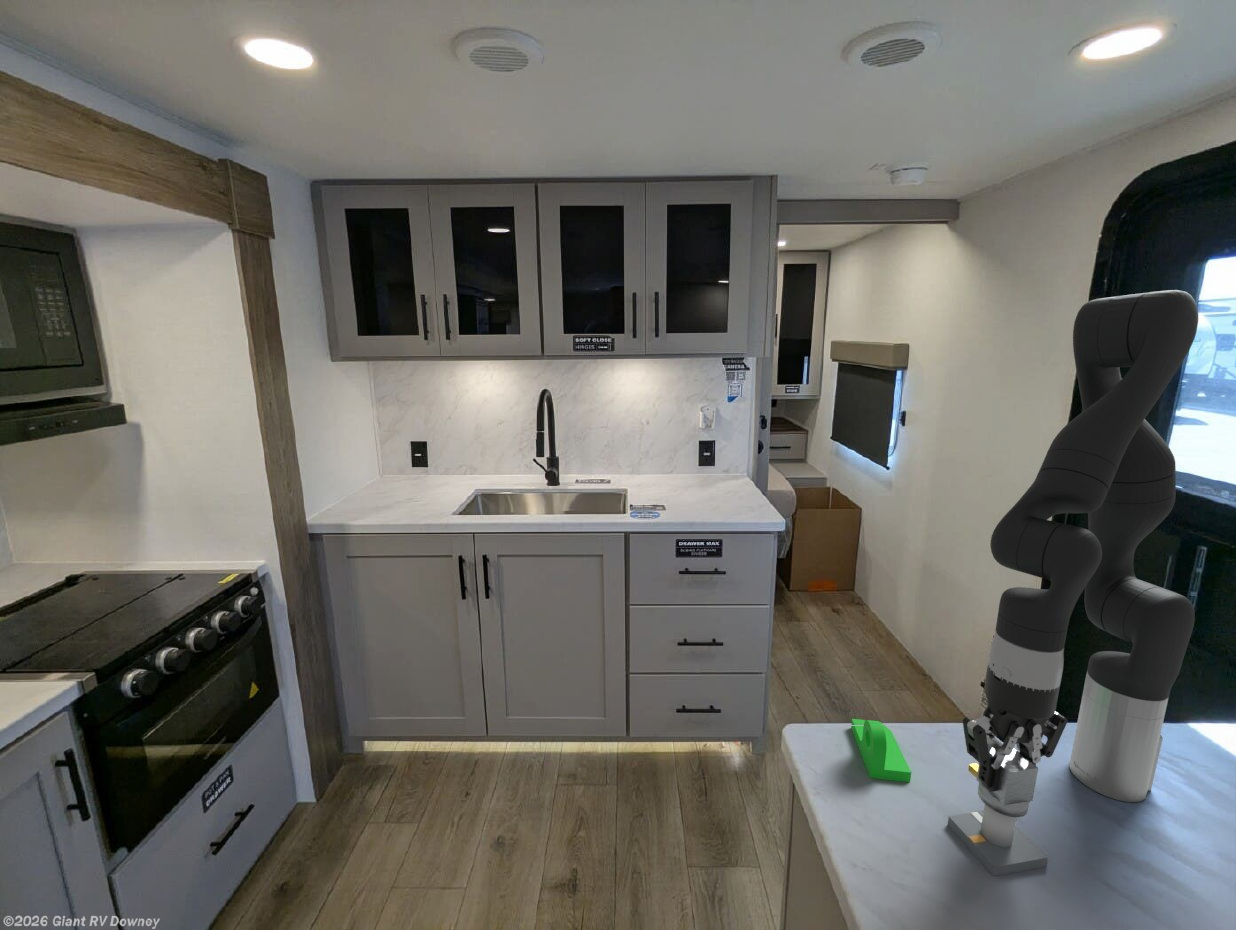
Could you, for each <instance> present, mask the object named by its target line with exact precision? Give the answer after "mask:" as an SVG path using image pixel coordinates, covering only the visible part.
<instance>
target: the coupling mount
mask: <svg viewBox="0 0 1236 930" xmlns="http://www.w3.org/2000/svg"><path fill="white" fill-rule="evenodd" d="M1017 818H1018V817H1009V816H1005V815H1003V814H1000V813H998V812H996V811H994V810H992V809H991V808H989V807H988V806H987V805H986V804H985V803H984V807H983V810H979V811H973V812H972V811H971V812H966V813H960V814H955V815H949V816H948V819H947V826H948V827H949V828H950V829H951V831H952V832H953V833H954V834H955V835H956V836H957V837H958V838H959V839H960V840H961V842H962V843H963V844H964V845H965V846H966V847H967V848H968V849H969V851H971V853H972V854H973V855H974V856H975V857H976V858H977V859H978V861H979V862H980V863H981V864H982V865H983V866H984V867H985V869H987V870H988V872H989V873H990V874H991V875H992V876H993V877H996V876H1001V875H1007V874H1012V873H1017V872H1024V871H1027V870H1033V869H1039V868H1043V867H1047V864H1048V861H1049V860H1048V859H1049V856H1047V855H1046V854H1045V853H1044V852H1043V851H1042V850H1041V848H1039V847H1038V846H1037V845H1036V844H1035V843H1034V842H1033V841H1032V840H1031V839H1030V838H1029V837H1027V835H1026V834H1024V832H1023V831H1021V830H1020V828H1019V827H1017V826H1016V824H1017Z"/></svg>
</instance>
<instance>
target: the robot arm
mask: <svg viewBox="0 0 1236 930" xmlns="http://www.w3.org/2000/svg"><path fill="white" fill-rule="evenodd" d="M1198 325H1199V309H1198V305H1197V303H1196V301H1195V299H1194V298H1193V295H1191V294H1190V293H1188V292H1187V291H1183V290H1181V289H1180V290H1178V289H1174V290H1173V289H1170V290H1169V289H1168V290H1160V291H1159V290H1158V291H1150V292H1143V293H1135V294H1133V293H1132V294H1127V295H1117V296H1110V297H1103V298H1102V297H1101V298H1096V299H1092V300H1089V301H1087V302H1086V303H1084V304H1083V305H1082V306H1081V307H1080V308H1079V310H1078V312H1077V315H1076V316H1075V319H1074V324H1073V329H1072V348H1073V349H1072V350H1073V358H1074V364H1075V369H1076V376H1077V382H1078V388H1079V395H1080V401H1081V406H1082V412H1080V413H1078V415H1077V416H1075V417H1074V418H1072V420H1071V421H1069V422H1068V423H1067V424H1066V425H1065V426H1064V427H1062V429H1060V431H1059V432H1058V433H1057V434H1056V436H1055V437H1054V438H1053V440H1052V442H1051V443H1050V445H1049V448H1048V450H1047V452H1046V455H1045V457H1044V459H1043V461H1042V463H1041V466H1040V468H1039V470H1038V473H1037V474H1036V478H1035V479H1034V480H1033V482H1032V484H1030V486H1029V488H1027V490H1026V491H1025V492H1024V494H1023V495H1022V496H1021V497H1020V498H1019V500H1018V501H1017V502H1016V503H1015V504H1014V505H1013V506H1012V507H1011V508H1010V509H1009V511H1008V512H1006V513H1005V515H1004V516H1002V518H1001V519H1000V520H999V522H998V523H997V525H996V526H995V528H994V530H993V531H992V535H991V537H990V550H991V554H992V556H993V559H994V560H995V561H996V563H998V564H999V565H1000V566H1002V567H1004V568H1008V569H1011V570H1014V571H1017V572H1020V573H1022V574H1023V573H1024V574H1026V575H1027V574H1028V575H1031V576H1034V577H1037V578H1039V579H1040V578H1041V579H1044V580H1048V581H1050V586H1049V588H1048V589H1043V588H1034V587H1022V586H1015V587H1009V588H1008V589H1006V590H1004V591H1003V592H1002V593H1001V596H1000V599H999V604H998V611H997V612H998V613H997V618H996V625H995V630H994V634H993V637H992V641H991V643H990V648H989V654H988V661H987V667H986V674H985V680H984V681H985V682H984V687H983V690H984V694H985V697H986V700H987V706H986V708H985V709H984V710H983V712H982V716H981V717H978V718H977V719H972V718H971V717H970V716H965V717H964V718H963V719H962V727H963V733H964V740H965V745H966V746H965V747H966V751H967V752H966V753H967V754H968V755H969V756H971V757H972V758H973V759H974V760H975V761H976V762H978V764H979V763H980V769H979V770H980V771H979V775H978V777H979V780H980V781H981V783H982V784H983V785H984V786H985V787H986V788H988V789H989V790H990V791H991V792H993V791H997V790H998V786H999V780H1000V773H1001V768H1000V766H1001V764H1002V762H1003V760H1004V758H1005V756H1006V755H1010V754H1011V753H1012V750H1013V748H1014V749H1015V746H1016V750H1017V751H1018V752H1019V753H1020V754H1022V755H1023V756H1024V757H1025V758H1027V759H1028V760H1029V761H1030V762H1032V763H1033V764H1034V765H1035V766H1036V767H1037V764H1038V763H1040V762H1041V759H1042V757H1043V756H1044V757H1046V758H1051V757H1052V756H1053V754H1054V752H1055V750H1056V749H1057V745H1058V743H1059V741H1060V739H1061V737H1062V734H1063V733H1064V731H1065V728H1066V726H1067V723H1068V719H1067V717H1065V716H1064V715H1062V714H1061V713H1059V712H1058V711H1056V710H1057V704H1058V698H1059V694H1060V687H1061V684H1062V683H1061V682H1062V677H1063V672H1064V665H1065V663H1064V661H1065V659H1064V658H1065V657H1064V655H1065V646H1066V640H1067V634H1068V627H1069V624H1070V619H1071V616H1072V613H1073V611H1074V608H1075V606H1076V605H1077V602H1078V600H1079V598H1080V596H1081V594H1082V593H1083V591H1084V600H1083V601H1084V608H1085V614H1086V616H1087V618H1088V620H1089V621H1090V622H1091V623H1092V624H1093V625H1094V626H1095V627H1097V628H1098V629H1101V630H1102V631H1104V632H1105V633H1108V634H1110V635H1113V636H1114V637H1116V638H1118V639H1121V640H1123V641H1126V642H1128V643H1129V644H1132V647H1131V648H1132V649H1131V651H1130V653H1129V652H1123V651H1117V650H1116V651H1115V650H1114V651H1113V650H1109V651H1108V650H1107V651H1106V650H1105V651H1103V650H1102V651H1097V652H1095V653H1093V654H1092V655H1090V658H1089V660H1088V665H1087V669H1086V675H1085V680H1084V685H1083V691H1082V696H1081V702H1080V706H1079V712H1078V718H1077V722H1076V728H1075V731H1074V732H1075V733H1074V737H1073V743H1072V749H1071V754H1070V760H1069V766H1068V767H1069V770H1070V772H1071V773H1072V774H1073V776H1074V777H1075V778H1076V779H1077V780H1078V781H1080V783H1082V784H1083V785H1085V786H1086V787H1088V788H1089V789H1091V790H1093V791H1094V792H1096V793H1099V794H1101V795H1103V796H1105V797H1108V798H1110V799H1113V800H1117V801H1119V802H1125V803H1127V802H1128V803H1138V802H1139V803H1140V802H1142V801H1144V800H1145V799H1146V797H1147V794H1148V791H1152V788H1153V784H1154V778H1155V775H1156V771H1157V765H1158V761H1159V757H1160V753H1161V748H1162V744H1163V736H1162V729H1163V724H1164V719H1165V716H1166V711H1167V706H1168V701H1169V697H1170V693H1171V690H1172V687H1173V686H1174V683H1175V682H1176V680H1177V678H1178V676H1179V675H1180V671H1181V668H1182V665H1183V661H1184V658H1185V655H1186V651H1187V649H1188V645H1189V643H1190V639H1191V637H1192V634H1193V629H1194V626H1195V619H1196V616H1195V607H1194V606H1193V603H1192V602H1191V600H1190V599H1189V598H1187V597H1186V596H1184V595H1182V594H1180V593H1178V592H1176V591H1173V590H1169V589H1168V588H1167V589H1166V588H1164V587H1161V586H1158V585H1156V584H1153V583H1150V582H1147V581H1144V580H1141V579H1139V578H1137V577H1136V574H1135V570H1134V560H1135V554H1136V553H1135V552H1136V550H1137V547H1138V546H1139V545H1140V543H1142V541H1143V540H1144V539H1145V538H1146V537H1147V536H1148V535H1150V533H1152V532H1153V531H1154V530H1155V529H1156V528H1157V527H1158V526H1159V525H1161V524H1162V522H1163V521H1164V520H1165V519H1166V518H1167V517H1168V516H1169V515H1170V513H1171V512H1172V510H1173V507H1174V506H1175V502H1176V496H1177V495H1176V494H1177V493H1176V482H1177V481H1176V480H1177V479H1176V476H1177V474H1176V473H1177V472H1176V467H1177V466H1176V459H1175V456H1174V454H1173V452H1172V450H1171V448H1170V447H1169V445H1168V444H1167V443H1166V441H1165V440H1164V439H1163V438H1162V436H1161V435H1160V434H1159V433H1158V432H1157V430H1155V428H1154V427H1153V426H1152V425H1151V424H1150V423H1149V422H1148V421H1147V420H1146V418H1147V416H1148V415H1149V413H1150V412H1151V410H1152V409H1153V407H1154V406H1155V405H1156V403H1157V402H1158V400H1159V399H1160V398H1161V395H1162V394H1163V393H1164V391H1165V390H1166V389H1167V387H1168V385H1169V383H1170V382H1171V380H1172V379H1173V377H1174V375H1175V374H1176V373H1177V371H1178V370H1179V368H1180V366H1181V365H1182V364H1183V361H1184V360H1185V358H1186V357H1187V355H1188V353H1189V351H1190V349H1191V347H1192V345H1193V343H1194V340H1195V337H1196V334H1197V330H1198ZM1120 368H1129V370H1128V371H1127V372H1126V374H1125V375H1124V376H1123V377H1122V375H1121V369H1120ZM1062 514H1088V515H1087V518H1088V519H1087V522H1088V529H1086V528H1083V527H1081V526H1080V527H1079V526H1076V525H1071V524H1068V523H1067V524H1066V523H1062V522H1057V521H1053V520H1049V519H1050V518H1052V517H1054V516H1056V515H1062ZM1043 736H1045V737H1046V738H1047V740H1046V743H1044V742H1042V739H1043ZM992 747H993V748H994V749H995V754H994V756H993V755H992V754H991V753H990V751H991V749H992Z"/></svg>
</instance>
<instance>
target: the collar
mask: <svg viewBox="0 0 1236 930" xmlns="http://www.w3.org/2000/svg"><path fill="white" fill-rule="evenodd" d="M1019 752H1020V751H1019V750H1017V748H1015V747H1014V748H1013V750H1012V753H1011V754H1010V755H1006V756H1005V758H1004V760H1003V762H1002V764H1001V766H1000V768H1001V773H1000V780H999V786H998V790H997V791H993V792H991V791H990V790H989V789H988V788H986V787H985V786H984V785H983V784H982V783H981V781H980V780H979V777H978V775H979V771H980V770H979V769H980V763H979V762H978V763H969V764H968V769H967V770H968V772H970V774H972V776H974V777H975V778H976V781H977V782H978V785H977V795H978V798H979V799H980V801H982V803H983V804H984V805H985V804H986V805H987V806H988V807H989V808H991V809H992V810H994V811H996V812H998V813H1000V814H1003V815H1005V816H1009V817H1017V818H1022V817H1025V816H1026V815H1027V814H1028V812H1029V811H1028V810H1029V808H1030V807H1029V806H1030V802H1033V799H1034V793H1035V789H1036V783H1037V777H1038V773H1039V767H1038V766H1037V765H1036V766H1035V765H1034V764H1033V763H1032V762H1030V761H1029V760H1028V759H1027V758H1025V757H1024V756H1023V755H1022V754H1020V753H1019ZM990 753H991V754H992V755H993V756H994V754H995V749H994V748H993V747H992V749H991V751H990Z"/></svg>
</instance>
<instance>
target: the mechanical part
mask: <svg viewBox="0 0 1236 930" xmlns="http://www.w3.org/2000/svg"><path fill="white" fill-rule="evenodd" d="M882 724H883V723H882V722H881V721H880V720H879V721H878V720H870V719H869V720H867V719H859V718H851V725H864V726H850V728H851V731H852V735H853V736H854V740H855V742H856V744H857V746H858V749H859V752H860V754H861V757H862V759H863V760H862V761H863V763H864V765H865V768H866V770H867V774H868V776H869V778H870V779H880V780H886V781H887V780H888V781H895V782H896V781H897V782H907V783H911V776H912V771H911V769H910V766H909V764H908V762H907V761H906V758H905V756H904V754H903V752H902V750H901V749H900V746H899V744H898V742H897V740H896V737H895V735H894V733H893V731H892V730H891V729H890V728H889V727H888V726H886V725H884V724H883V725H882Z"/></svg>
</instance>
